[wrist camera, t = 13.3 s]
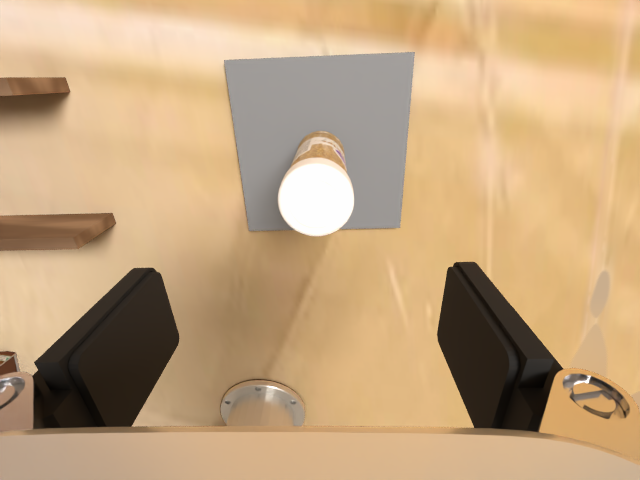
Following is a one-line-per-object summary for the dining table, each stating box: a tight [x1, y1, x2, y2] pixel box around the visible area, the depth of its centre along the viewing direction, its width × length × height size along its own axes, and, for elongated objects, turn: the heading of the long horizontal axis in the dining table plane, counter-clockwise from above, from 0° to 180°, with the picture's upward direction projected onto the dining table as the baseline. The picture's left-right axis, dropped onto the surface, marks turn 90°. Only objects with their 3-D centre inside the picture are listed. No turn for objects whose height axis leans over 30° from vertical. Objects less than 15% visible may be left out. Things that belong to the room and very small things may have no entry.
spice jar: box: [278, 131, 354, 236], centre depth 25 cm, size 5×5×13 cm
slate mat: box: [224, 52, 415, 231], centre depth 31 cm, size 16×16×1 cm
